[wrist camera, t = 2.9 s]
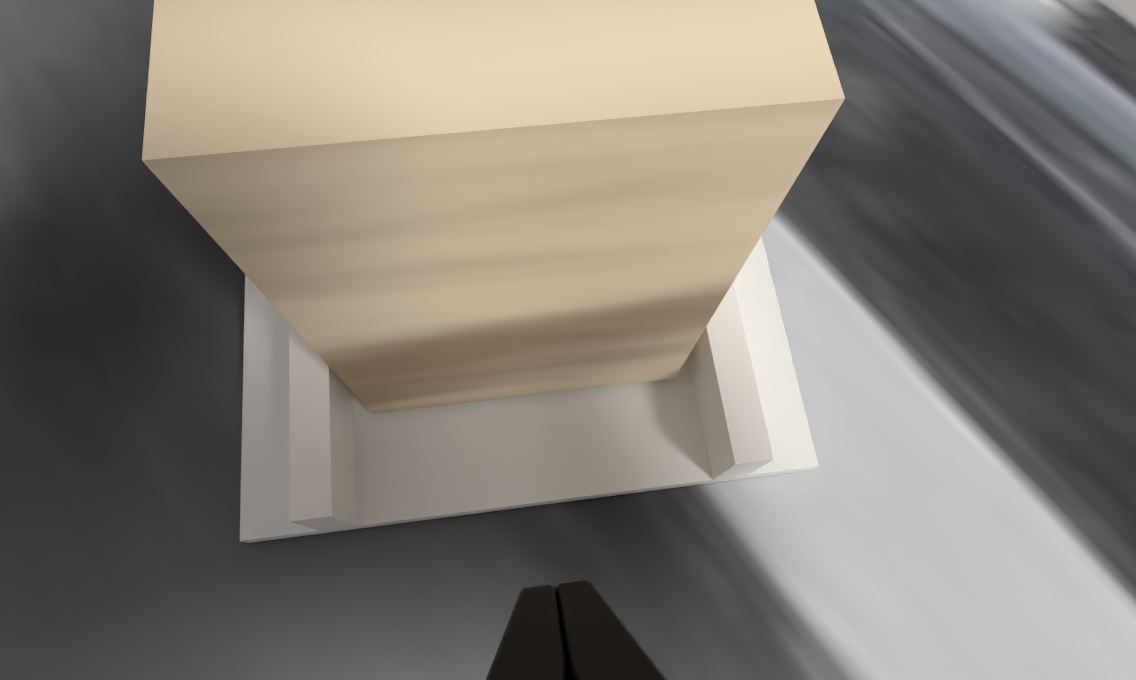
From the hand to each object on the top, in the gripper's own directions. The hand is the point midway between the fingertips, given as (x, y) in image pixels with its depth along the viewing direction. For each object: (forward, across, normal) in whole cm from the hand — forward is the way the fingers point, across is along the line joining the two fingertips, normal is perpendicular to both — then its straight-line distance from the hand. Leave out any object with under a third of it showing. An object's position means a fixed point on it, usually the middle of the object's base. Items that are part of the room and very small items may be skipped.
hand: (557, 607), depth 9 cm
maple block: (+10, 0, 0) cm, 10 cm away
